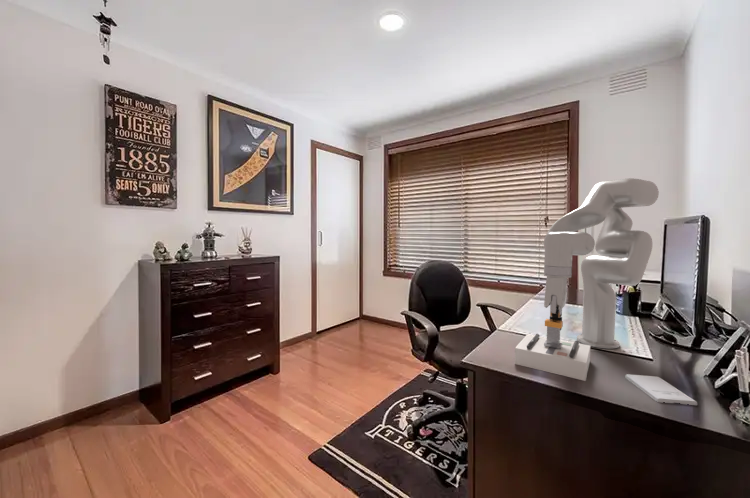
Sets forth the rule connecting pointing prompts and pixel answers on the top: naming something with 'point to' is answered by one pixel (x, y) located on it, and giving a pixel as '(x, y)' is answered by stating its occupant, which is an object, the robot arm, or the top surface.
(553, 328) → the switch handle
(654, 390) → the external hard drive
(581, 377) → the switch box
